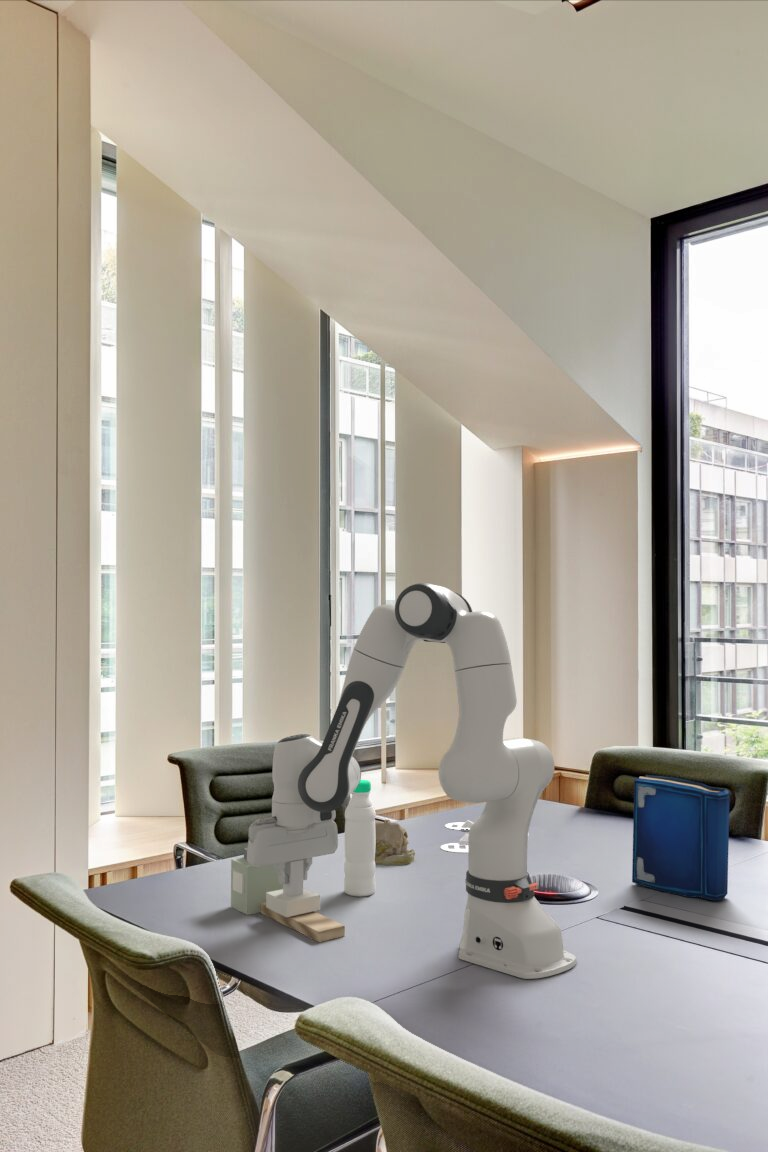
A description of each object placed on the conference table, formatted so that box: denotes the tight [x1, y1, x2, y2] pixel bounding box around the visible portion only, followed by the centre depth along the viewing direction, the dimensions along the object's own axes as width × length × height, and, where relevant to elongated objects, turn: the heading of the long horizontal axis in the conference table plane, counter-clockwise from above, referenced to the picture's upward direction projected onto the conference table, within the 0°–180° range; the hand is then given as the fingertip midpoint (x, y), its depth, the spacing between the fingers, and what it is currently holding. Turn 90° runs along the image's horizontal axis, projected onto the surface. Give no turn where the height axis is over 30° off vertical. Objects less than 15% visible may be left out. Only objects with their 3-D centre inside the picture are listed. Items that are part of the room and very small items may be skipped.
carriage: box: [266, 859, 321, 917], centre depth 194 cm, size 8×8×10 cm
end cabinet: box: [230, 846, 283, 916], centre depth 203 cm, size 7×12×12 cm, turn 128°
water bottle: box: [343, 779, 377, 898], centre depth 213 cm, size 7×7×25 cm
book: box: [631, 774, 731, 902], centre depth 215 cm, size 22×7×25 cm, turn 47°
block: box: [260, 902, 346, 943], centre depth 191 cm, size 22×6×2 cm, turn 38°
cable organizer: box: [440, 819, 530, 854], centre depth 265 cm, size 35×24×3 cm
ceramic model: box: [375, 819, 416, 866], centre depth 242 cm, size 14×11×10 cm
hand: (292, 881), depth 194 cm, fingers closed on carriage, 3 cm apart
